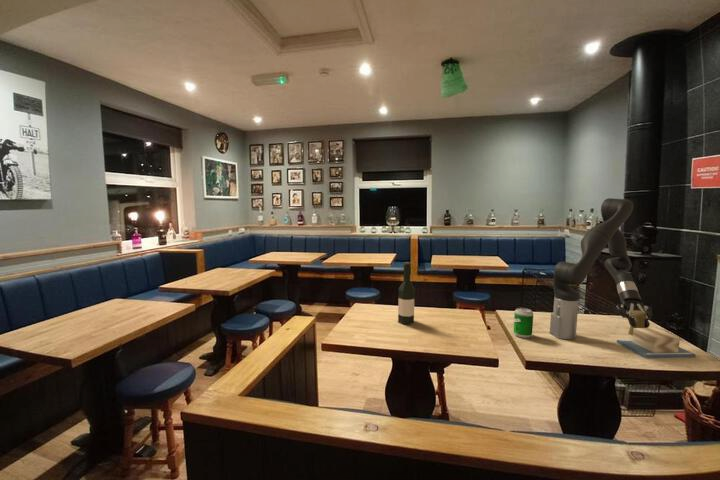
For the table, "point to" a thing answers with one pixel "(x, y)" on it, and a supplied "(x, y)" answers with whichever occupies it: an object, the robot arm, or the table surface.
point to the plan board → (648, 354)
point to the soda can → (523, 322)
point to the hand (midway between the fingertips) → (640, 326)
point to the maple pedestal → (656, 340)
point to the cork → (638, 320)
